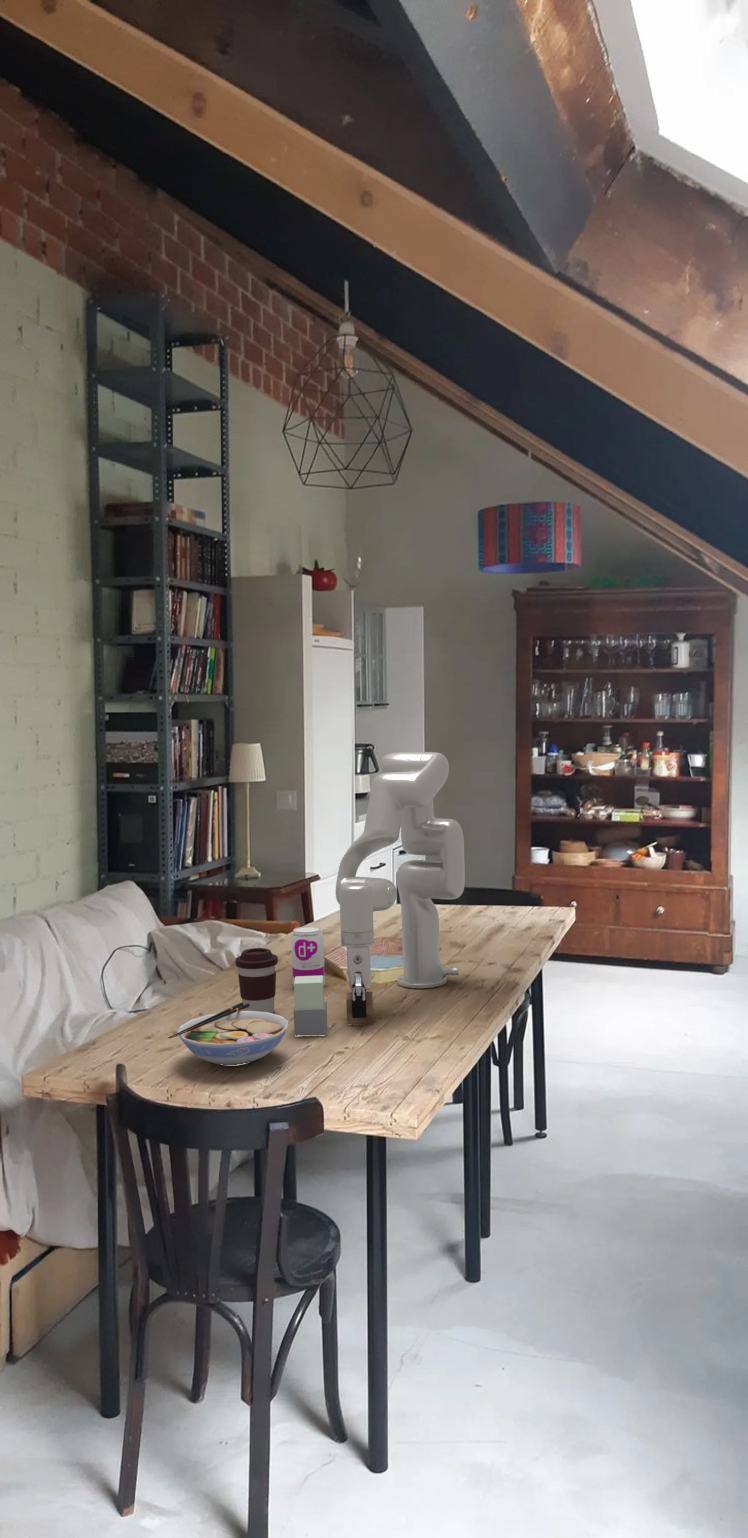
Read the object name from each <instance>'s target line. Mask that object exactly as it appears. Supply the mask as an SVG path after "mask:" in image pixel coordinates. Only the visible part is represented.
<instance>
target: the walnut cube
mask: <svg viewBox="0 0 748 1538" xmlns="http://www.w3.org/2000/svg"><path fill="white" fill-rule="evenodd" d="M373 994H374V993H373V991H366V992H365V1000H366V1014H367V1017H366V1018H353V1017H352V1000H353V992H352V991H349V992H348V991H347V992H346V997H345V998H346V999H345V1000H346V1002H345V1004H346V1005H345V1006H346V1025H347V1026H349V1025H348V1024H352V1025H351V1026H355V1025H354V1024H369V1025H374V1023H375V1022H374V999H373V998H374V997H373V996H374V995H373ZM362 998H363V995H362Z"/></svg>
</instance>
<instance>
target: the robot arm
mask: <svg viewBox="0 0 748 1538" xmlns="http://www.w3.org/2000/svg"><path fill="white" fill-rule="evenodd" d="M380 767H381V769H380V770H381V772H382V773H379V774H378V775H376V776H375V777H374V778H373V780H372V783H371V788H370V793H369V797H368V798H369V800H368V805H367V811H366V815H365V816H366V817H365V822H364V828H363V832H362V834H360V836H359V837H358V838H357V839H356V840H355V841H354V842H353V843H352V844H351V845H350V846H349V848H347V850H346V852H345V853H344V855H343V857H342V858H341V859H340V863H339V865H338V870H337V871H338V872H337V877H336V882H335V899H336V901H337V903H338V904H339V916H340V917H339V920H340V922H339V923H340V924H339V925H340V945H341V946H342V947H345V948H346V949H345V950H346V969H347V979H348V986H349V989H350V990H351V992H353V1000H352V1017H353V1018H366V1017H367V1014H366V1000H365V992H367V989H368V991H370V989H371V988H372V976H371V975H372V971H371V970H372V969H371V949H370V946H373V945H374V943H375V939H374V938H375V935H374V931H375V930H374V913H375V912H383V911H387V910H389V909H390V908H391V907H393V905H394V904H395V902H396V900H397V896H398V895H399V901H400V911H401V912H400V913H401V914H400V915H401V937H402V939H401V940H402V942H401V943H402V944H401V945H402V969H403V971H402V972H403V974H402V975H400V976H398V977H397V984H398V985H399V986H401V987H403V988H410V989H432V988H438V987H441V986H444V985H445V984H446V983H448V982H447V981H448V979H447V978H448V977H447V976H459V972H460V971H459V967H453V966H444V965H442V962H441V949H440V947H441V946H440V945H441V943H440V916H439V912H438V909H437V906H436V905H435V903H434V902H433V900H432V899H435V900H438V899H439V900H456V899H459V898H460V897H461V896H462V894H463V893H464V890H465V884H466V878H465V877H466V869H465V867H466V865H465V839H464V832H463V829H462V826H461V825H460V823H459V822H458V821H457V820H455V819H452V818H441V817H440V818H439V817H438V818H437V817H435V811H434V798H435V797H436V795H437V794H438V792H439V791H440V790H441V789H442V788H443V786H444V785H445V784H446V782H447V781H448V777H449V771H450V765H449V761H448V759H447V757H446V756H445V755H444V754H443V753H441V752H436V751H435V752H434V751H428V752H427V751H398V752H397V751H396V752H390V753H388V754H385V755H384V756H383V757H382V758H381V762H380ZM399 838H401V846H402V849H403V851H404V852H405V853H407V854H409V855H413V856H414V855H415V856H429V857H430V856H431V857H433V856H434V857H440V858H441V860H428V859H426V860H425V859H423V860H422V859H412V860H407V861H405V862H402V863H401V864H400V865H399V867H398V868H397V871H396V878H395V879H396V885H397V888H396V885H395V884H394V882H393V881H391V880H389V879H387V878H381V877H368V876H357V872H358V870H359V868H360V866H361V864H362V863H363V861H364V860H365V859H366V858H368V857H369V856H370V855H372V854H374V853H377V852H379V851H380V850H382V849H384V848H387V847H388V846H392V845H393V844H395V843H396V842H397V841H398V840H399ZM397 890H398V892H397ZM362 995H363V998H362Z"/></svg>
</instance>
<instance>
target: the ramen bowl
mask: <svg viewBox="0 0 748 1538" xmlns="http://www.w3.org/2000/svg"><path fill="white" fill-rule="evenodd" d="M247 1007H250V1005H249V1004H248V1003H247V1004H245V1005H243V1003H242V1002H239V1003H237V1004H234V1005H233V1006H230V1007H229V1008H226V1009H224V1010H222V1011H220V1012H217V1013H211V1014H205V1015H202V1016H199V1017H196V1018H193V1019H189V1020H188V1021H186V1022H185V1023H183V1024H181V1025H180V1026H179V1027H178V1030H177V1033H174V1034H172V1035H171V1036H168V1037H167V1039H173V1038H176V1037H179V1038H180V1040H181V1041H182V1042H183V1044H184V1045H185V1047H186V1048H187V1049H188V1051H189V1050H190V1052H191V1053H192V1054H193V1055H194V1056H196V1058H198V1059H201V1060H202V1061H205V1062H208V1063H212V1064H215V1065H218V1064H223V1065H237V1064H243V1063H248V1062H251V1061H252V1062H254V1061H256V1060H259V1059H262V1058H263V1057H266V1056H267V1055H268V1054H269V1053H271V1052H273V1050H275V1049H276V1048H277V1047H278V1045H279V1044H280V1042H281V1041H282V1039H283V1038H284V1036H285V1034H286V1032H287V1029H288V1027H289V1020H287V1019H286V1018H285V1017H284V1016H282V1015H279V1014H275V1013H268V1012H258V1011H243V1009H245V1008H247ZM252 1062H251V1063H252Z"/></svg>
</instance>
